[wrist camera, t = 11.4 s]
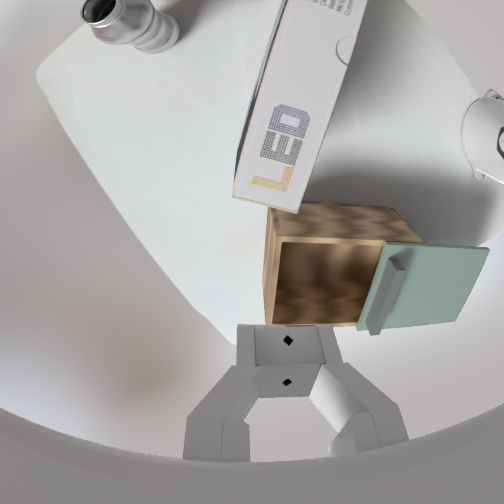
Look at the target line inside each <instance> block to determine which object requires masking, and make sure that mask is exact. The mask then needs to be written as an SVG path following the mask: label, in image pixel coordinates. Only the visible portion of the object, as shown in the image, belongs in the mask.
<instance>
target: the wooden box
mask: <svg viewBox="0 0 504 504" xmlns="http://www.w3.org/2000/svg"><path fill="white" fill-rule="evenodd" d="M385 242H401V243H420V244H425V242H424V241H423V240H422V238H421V237H420V236H419V235H418V234H417V233H416V232H415V231H414V230H413V229H412V228H411V227H410V226H409V225H408V224H407V223H406V222H405V220H404V219H403V218H402V217H401V216H400V215H399V214H398V213H397V212H396V211H395V210H394V209H393V208H384V207H374V206H363V205H351V204H338V203H324V202H309V201H301V204H300V207H299V210H298V213H297V214H296V213H292V212H288V211H284V210H280V209H276V208H272V207H268V215H267V228H266V240H265V253H264V265H263V277H262V285H263V297H264V309H265V322H266V325H313V324H314V325H315V324H331V326H332V327H340V326H341V327H343V326H357V323H358V321H359V318H360V316H361V313H362V310H363V307H364V305H365V302H366V299H367V296H368V293H369V291H370V288H371V285H372V282H373V279H374V276H375V273H376V270H377V266H378V263H379V260H380V257H381V254H382V250H383V247H384V243H385Z"/></svg>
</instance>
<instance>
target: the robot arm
mask: <svg viewBox="0 0 504 504" xmlns="http://www.w3.org/2000/svg"><path fill="white" fill-rule="evenodd" d="M462 140H463V147H464V150H465V153H466V156H467V158H468V159H469V161H470V163H471V165H472V168H473V173H474V177H475V178H476V179H478V180H496V181H498V182H500V183H502V184H504V99H503V98H502V97H501V96H500V95H499V94H498V93H497V92H496V91H494V90H491V89H490V90H489V91H488V92H487V93H486V94H485V96H484V97H483V98H481V99H479V100H477V101H475V102H474V103H473V104H472V105H471V106H470V107H469V109H468V111H467V113H466V115H465V118H464V122H463V128H462ZM236 360H237V361H236V366H231V367H230V368H229V369H228V371H227V372H226V373H225V374H224V375H223V377H222V378H221V379H220V380H219V381H218V382H217V384H216V385H215V386H214V387H213V388H212V389H211V391H210V392H209V393H208V394H207V395H206V396H205V397H204V399H203V400H202V401H201V402H200V403H199V405H197V407H196V408H195V409H194V410H193V411H192V412H191V413H190V414H189V415H188V417H187V423H186V432H185V442H184V450H183V459H180V458H171V457H164V456H157V455H150V454H144V453H139V452H134V451H129V450H124V449H119V448H114V447H110V446H106V445H102V444H98V443H94V442H91V441H87V440H84V439H80V438H77V437H73V436H70V435H67V434H64V433H61V432H58V431H55V430H53V429H50V428H47V427H44V426H42V425H39V424H37V423H34V422H32V421H29V420H26V419H24V418H22V417H20V416H17V415H15V414H13V413H11V412H8V411H6V410H4V409H2V408H0V504H504V404H502V405H500V406H498V407H495V408H493V409H491V410H489V411H487V412H485V413H483V414H480V415H478V416H476V417H474V418H471V419H469V420H466V421H464V422H462V423H459V424H456V425H454V426H451V427H448V428H445V429H443V430H440V431H437V432H434V433H431V434H428V435H425V436H421V437H419V438H415V439H411V440H409V438H408V435H407V431H406V428H405V425H404V422H403V419H402V416H401V413H400V410H399V407H398V405H397V404H396V403H395V402H393V401H392V400H391V399H390V398H389V397H387V396H386V395H385V394H384V393H383V392H381V391H380V390H379V389H378V388H377V387H376V386H374V385H373V384H372V383H371V382H370V381H369V380H367V379H366V378H365V377H364V376H363V375H361V374H360V373H359V372H358V371H357V370H356V369H354V368H353V367H352V366H351V365H350V364H349V363H343V360H342V357H341V354H340V350H339V347H338V344H337V340H336V337H335V334H334V331H333V327H332V326H331V324H315V325H314V324H313V325H246V324H238V325H237V358H236ZM302 396H303V397H305V396H309V399H310V400H311V401H312V402H313V403H314V405H315V406H316V407H317V408H318V409H319V411H320V412H321V413H322V414H323V415H324V416H325V418H326V419H327V420H328V421H329V422H330V424H331V425H332V426H333V427H334V428H335V429H336V431H337V432H338V433H339V434H338V435H337V436H336V438H335V439H334V440H333V441H332V443H331V444H330V445H329V447H328V448H327V449H328V455H329V457H323V458H315V459H306V460H294V461H278V462H250V438H249V425H248V424H247V423H245V422H244V419H245V418H246V416H247V414H248V413H249V411H250V410H251V408H252V407H253V405H254V404H255V402H256V401H257V398H274V397H302Z"/></svg>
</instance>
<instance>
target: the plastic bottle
mask: <svg viewBox="0 0 504 504" xmlns="http://www.w3.org/2000/svg"><path fill="white" fill-rule="evenodd" d="M81 18H82V20H83V21H84V22H85V23H87V24H89V25H91V29H92V32H93V34H94V35H95V36H96V37H97V38H98V39H99V40H100V41H101V42H104V43H106V44H115V45H117V44H131V45H133V46H134V47H135V48H136V49H138V50H139V51H141V52H143V53H147V54H155V53H161V52H164V51H166V50H168V49H169V48H171V47H172V46H173V45H174V44H175V43H176V41H177V39H178V37H179V33H180V29H179V25H178V23H177V21H176V19H175V18H174V17H172V16H171V15H168V14H166V13H162V12H159V11H157V10H156V9H155V8H154V6H153V4H152V3H151V1H150V0H86V1H85V2H84V4H83V6H82V9H81Z"/></svg>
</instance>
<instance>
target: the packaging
mask: <svg viewBox="0 0 504 504" xmlns="http://www.w3.org/2000/svg"><path fill="white" fill-rule="evenodd" d="M367 3H368V0H282V2H281V5H280V8H279V11H278V14H277V16H276V19H275V23H274V26H273V29H272V32H271V35H270V38H269V41H268V44H267V47H266V50H265V54H264V57H263V60H262V63H261V66H260V70H259V73H258V76H257V80H256V83H255V86H254V90H253V93H252V96H251V100H250V103H249V107H248V110H247V114H246V117H245V121H244V124H243V128H242V132H241V135H240V139H239V142H238V149H237V157H236V166H235V175H234V184H233V196H232V197H233V198H235V199H240V200H244V201H248V202H252V203H256V204H260V205H264V206H268V207H272V208H276V209H280V210H284V211H288V212H292V213H296V214H297V213H298V210H299V207H300V204H301V201H302V199H303V196H304V193H305V191H306V188H307V185H308V182H309V179H310V177H311V174H312V171H313V168H314V165H315V163H316V160H317V157H318V154H319V151H320V148H321V145H322V143H323V140H324V137H325V134H326V131H327V128H328V125H329V122H330V119H331V116H332V113H333V110H334V107H335V104H336V101H337V98H338V95H339V92H340V89H341V86H342V83H343V80H344V77H345V74H346V71H347V68H348V65H349V62H350V58H351V55H352V52H353V49H354V46H355V43H356V39H357V36H358V33H359V30H360V26H361V23H362V20H363V16H364V13H365V10H366V6H367Z"/></svg>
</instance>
